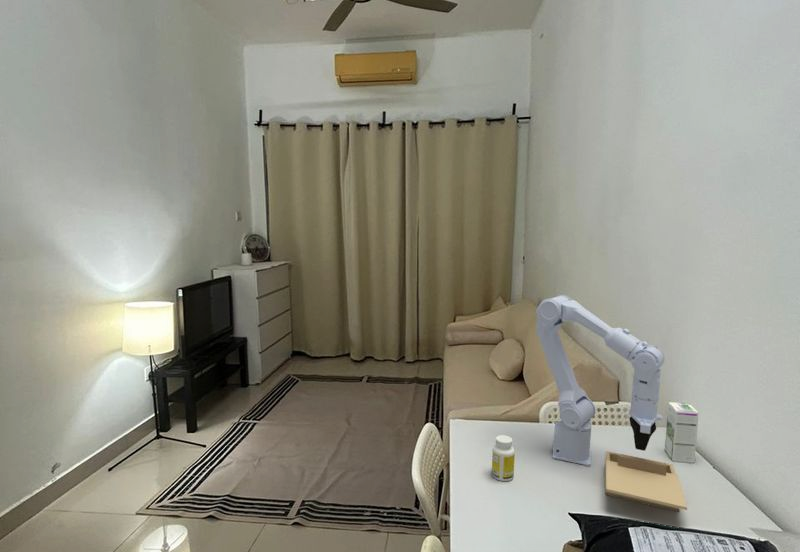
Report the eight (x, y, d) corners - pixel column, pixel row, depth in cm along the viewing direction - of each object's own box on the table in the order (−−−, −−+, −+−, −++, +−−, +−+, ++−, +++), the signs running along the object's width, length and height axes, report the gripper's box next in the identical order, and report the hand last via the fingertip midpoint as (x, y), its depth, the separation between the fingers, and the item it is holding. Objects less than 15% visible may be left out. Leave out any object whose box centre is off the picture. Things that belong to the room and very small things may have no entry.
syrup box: (695, 463, 120) (700, 411, 119) (670, 461, 122) (675, 409, 120) (686, 453, 126) (691, 403, 124) (663, 450, 127) (667, 401, 125)
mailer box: (605, 494, 106) (606, 476, 106) (604, 467, 118) (606, 450, 117) (679, 511, 100) (681, 493, 100) (671, 481, 112) (672, 464, 111)
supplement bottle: (515, 473, 115) (517, 436, 114) (511, 484, 110) (513, 446, 109) (494, 467, 117) (495, 432, 116) (489, 478, 112) (490, 441, 111)
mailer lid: (606, 491, 99) (607, 478, 99) (605, 462, 111) (606, 450, 111) (686, 510, 93) (688, 496, 93) (677, 477, 105) (678, 465, 105)
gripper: (667, 410, 102) (662, 466, 104) (660, 388, 115) (655, 439, 117) (632, 404, 105) (627, 459, 106) (629, 384, 118) (625, 433, 120)
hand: (640, 448), depth 112 cm, fingers closed
